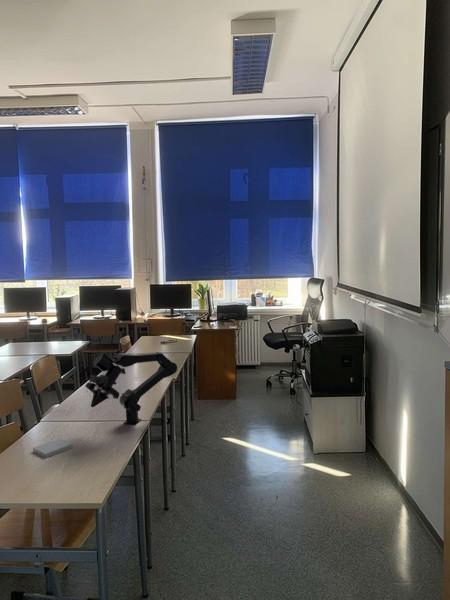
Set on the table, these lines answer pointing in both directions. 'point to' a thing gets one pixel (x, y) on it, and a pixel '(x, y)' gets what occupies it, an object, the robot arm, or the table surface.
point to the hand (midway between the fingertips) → (91, 406)
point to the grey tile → (52, 448)
